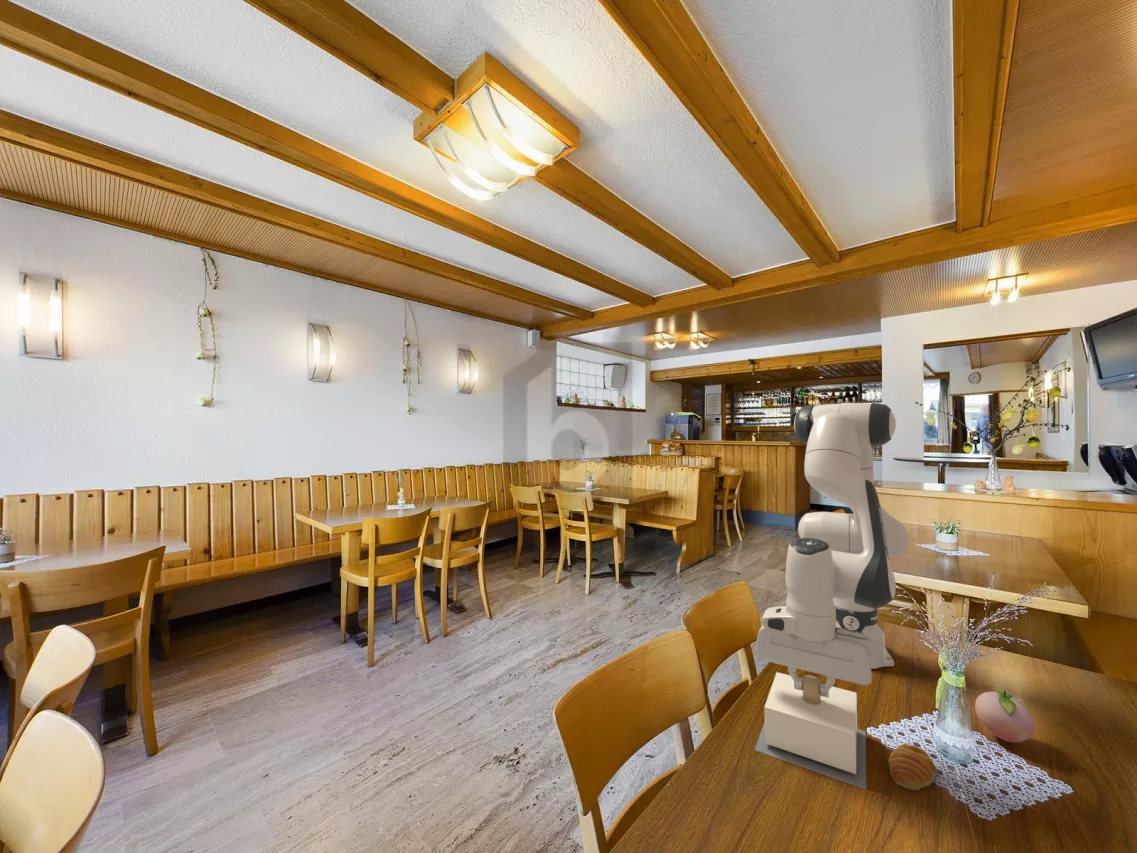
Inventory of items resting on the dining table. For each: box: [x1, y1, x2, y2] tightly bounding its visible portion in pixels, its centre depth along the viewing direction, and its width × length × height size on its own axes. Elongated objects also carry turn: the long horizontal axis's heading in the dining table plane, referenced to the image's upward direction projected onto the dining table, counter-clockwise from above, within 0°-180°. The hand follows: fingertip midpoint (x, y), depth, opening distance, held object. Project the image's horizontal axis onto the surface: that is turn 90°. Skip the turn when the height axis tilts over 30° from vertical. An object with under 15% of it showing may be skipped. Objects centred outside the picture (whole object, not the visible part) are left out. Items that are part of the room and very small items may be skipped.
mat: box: [754, 720, 867, 790], centre depth 90 cm, size 18×18×1 cm
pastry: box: [887, 743, 939, 791], centre depth 81 cm, size 9×7×4 cm
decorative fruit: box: [974, 688, 1036, 744], centre depth 91 cm, size 9×8×10 cm
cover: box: [763, 671, 858, 774], centre depth 91 cm, size 15×15×11 cm
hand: (811, 692), depth 91 cm, fingers closed on cover, 3 cm apart
